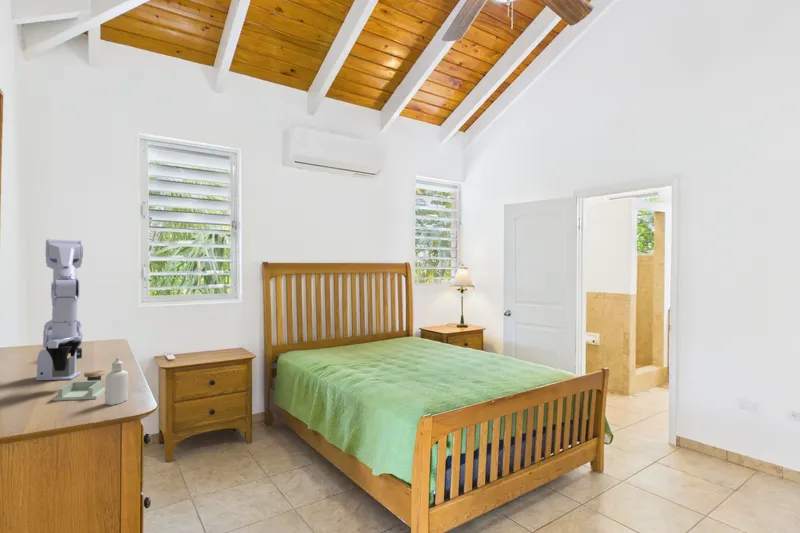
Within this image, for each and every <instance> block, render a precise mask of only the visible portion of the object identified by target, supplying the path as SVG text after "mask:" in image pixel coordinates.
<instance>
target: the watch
mask: <svg viewBox="0 0 800 533" xmlns="http://www.w3.org/2000/svg"><path fill="white" fill-rule="evenodd" d="M82 337H83V334H82ZM82 356H83V349H82V347H78V348H77V351H76V359H82V358H83V357H82Z"/></svg>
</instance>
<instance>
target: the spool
mask: <svg viewBox="0 0 800 533" xmlns="http://www.w3.org/2000/svg"><path fill="white" fill-rule="evenodd" d="M102 376H105V371H104V370H89V371H86V372H84V373H83V377H85V378H86V381H98V380H102ZM104 386H105V382H104V381H103V387H104Z"/></svg>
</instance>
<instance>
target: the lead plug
mask: <svg viewBox="0 0 800 533" xmlns="http://www.w3.org/2000/svg"><path fill="white" fill-rule="evenodd" d="M74 370H75V356H71V353H69V354H68V357H67V362H66V367H65V370H63V371H55V368H54V365H53V363H52V377H68V376H70V375H72V374H74Z"/></svg>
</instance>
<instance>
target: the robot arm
mask: <svg viewBox="0 0 800 533" xmlns="http://www.w3.org/2000/svg"><path fill="white" fill-rule="evenodd" d="M83 257H84V242H83V241H82V240H81V239H79V240H67V239H66V240H65V239H50V238H47V239H46V240H45V264H46V267H48V268H50V269H52V270H53V272H52V274H53V275H52V281H51V284H50V286H51V287H50V299H51V306H52V308H51V310H52V313H51V314H52V315H51V319H49V321H47V322H45V324H44V327H43V335H42V336H43V338H42V348H44V349H41V350H40V351H39V352H38V355H37V361H36V378H35V381H52V380H53V381H54V380H57V381H58V380H72V379H74V378H75V377H78V376H79V375H80V374H82V372H81V371H77V358H76V351H77V348H80V347H81V346H82V345H83V336H82V335H83V329H82V323H81V321H79V320H78V299H79V298H80V290H81V289H80V288H81V286H80V285H81V284H80V280H79V278H78V272H77V271H78V270H77V269H79V268H81V267H82V266H81V265H82V264H83ZM69 353H71V356H75V370H74V374H72V375H70V376H68V377H52V363H53V365H54V368H55V371H63V370H65V367H66V362H67V357H68V354H69Z"/></svg>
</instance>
